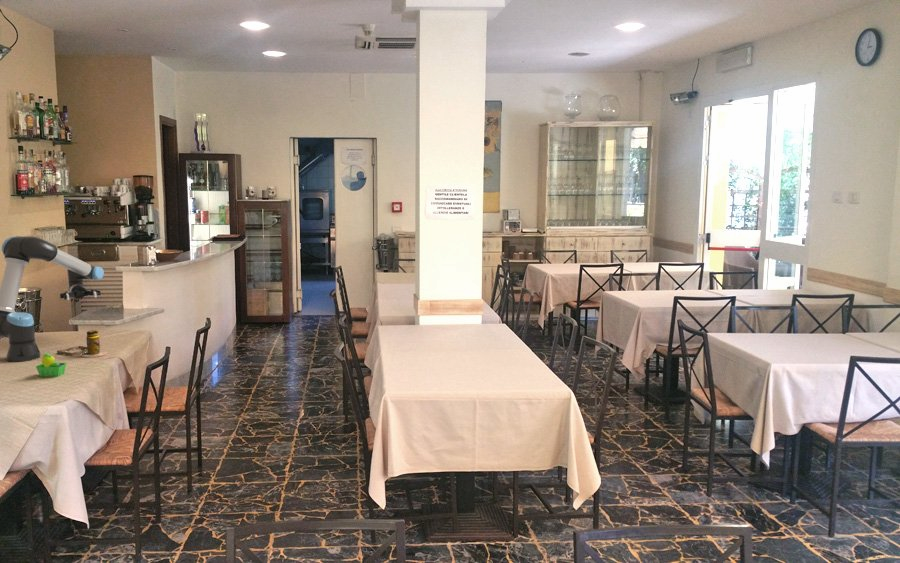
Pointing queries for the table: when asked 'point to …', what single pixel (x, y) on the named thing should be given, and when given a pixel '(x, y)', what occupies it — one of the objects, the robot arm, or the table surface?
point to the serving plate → (96, 355)
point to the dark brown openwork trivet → (72, 349)
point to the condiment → (92, 343)
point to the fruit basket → (50, 367)
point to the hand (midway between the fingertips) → (82, 296)
